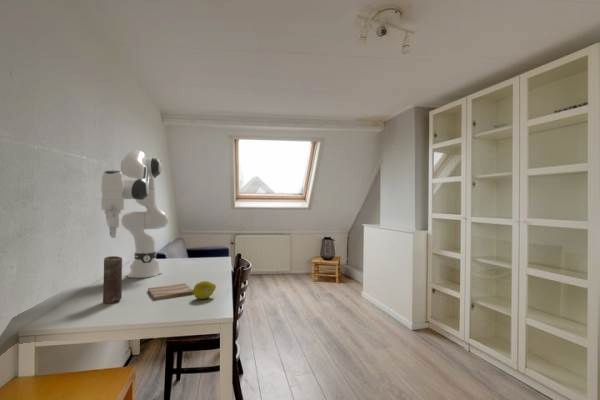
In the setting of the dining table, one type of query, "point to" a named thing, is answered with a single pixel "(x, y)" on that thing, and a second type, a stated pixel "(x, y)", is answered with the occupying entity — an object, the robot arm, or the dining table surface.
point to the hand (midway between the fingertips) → (112, 236)
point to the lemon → (203, 289)
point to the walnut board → (170, 291)
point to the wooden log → (112, 279)
